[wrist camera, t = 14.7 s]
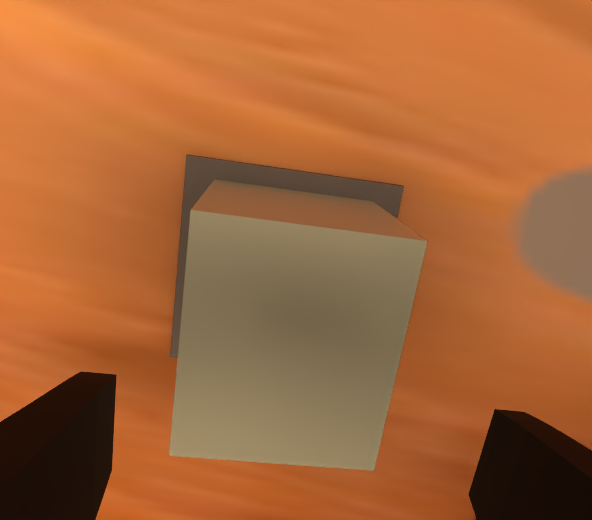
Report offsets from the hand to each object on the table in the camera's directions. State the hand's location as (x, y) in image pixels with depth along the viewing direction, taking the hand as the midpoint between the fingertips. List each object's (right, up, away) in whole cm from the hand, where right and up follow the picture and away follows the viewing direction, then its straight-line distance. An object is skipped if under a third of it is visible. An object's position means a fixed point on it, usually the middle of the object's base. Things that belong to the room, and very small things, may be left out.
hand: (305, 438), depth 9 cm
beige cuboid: (-1, +3, +9) cm, 10 cm away
